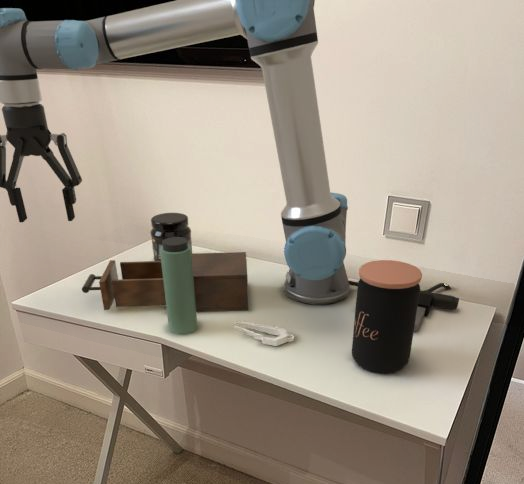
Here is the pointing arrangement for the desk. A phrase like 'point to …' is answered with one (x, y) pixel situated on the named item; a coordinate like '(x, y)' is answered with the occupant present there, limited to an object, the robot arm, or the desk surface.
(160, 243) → the supplement container
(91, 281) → the drawer
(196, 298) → the cabinet
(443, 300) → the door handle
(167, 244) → the bottle
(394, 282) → the coffee jar
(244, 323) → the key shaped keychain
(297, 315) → the desk surface
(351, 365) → the desk surface
